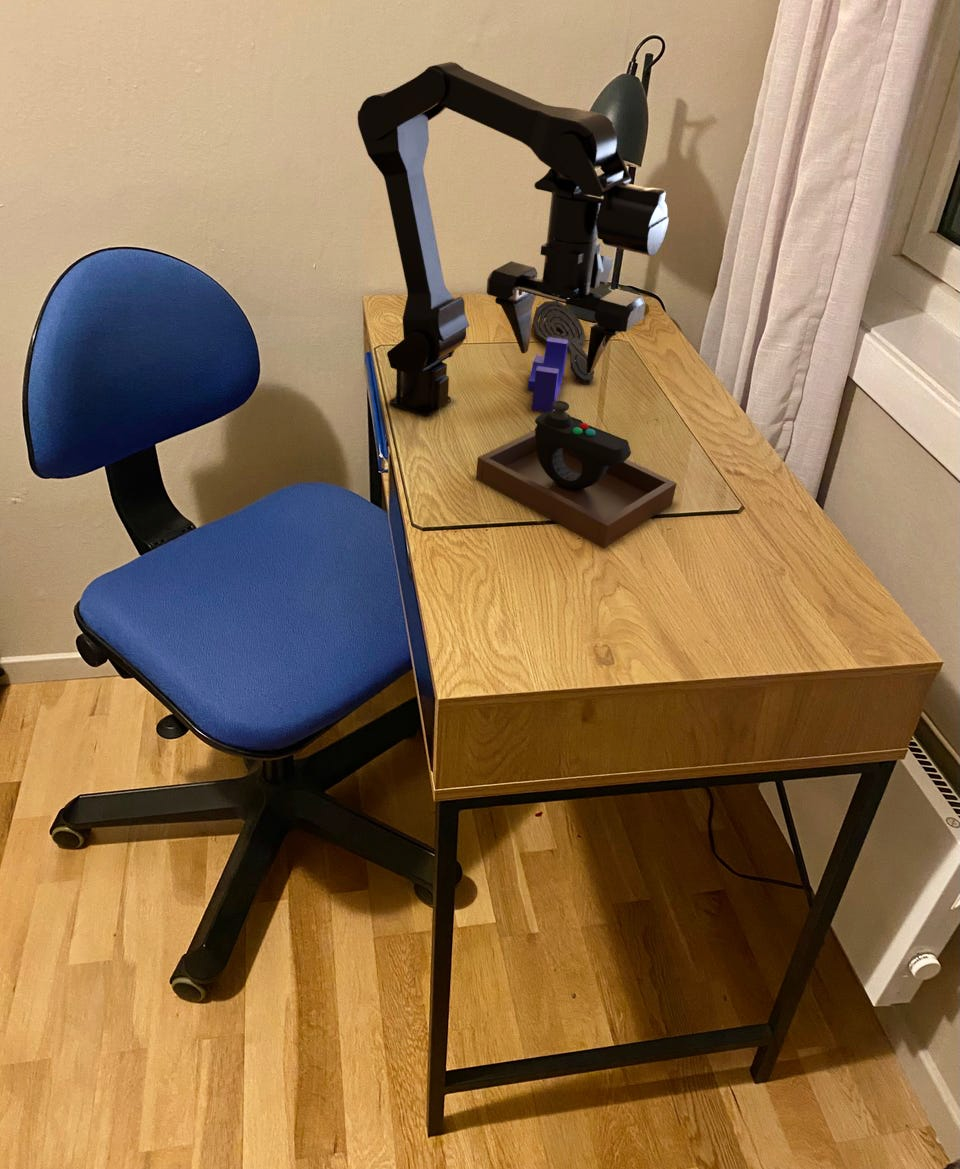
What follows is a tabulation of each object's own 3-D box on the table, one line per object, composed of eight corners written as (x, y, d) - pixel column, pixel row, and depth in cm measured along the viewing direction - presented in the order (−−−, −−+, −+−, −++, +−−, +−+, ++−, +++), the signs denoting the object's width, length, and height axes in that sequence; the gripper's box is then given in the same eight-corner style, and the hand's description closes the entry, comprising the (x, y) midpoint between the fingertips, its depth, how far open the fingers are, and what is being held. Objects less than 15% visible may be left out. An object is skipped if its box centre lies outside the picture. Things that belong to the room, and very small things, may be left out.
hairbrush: (561, 367, 140) (528, 295, 159) (558, 389, 142) (526, 316, 161) (616, 367, 141) (576, 296, 160) (612, 389, 144) (573, 316, 162)
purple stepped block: (533, 373, 144) (537, 335, 141) (563, 377, 144) (568, 340, 140) (521, 408, 135) (525, 368, 131) (552, 413, 134) (557, 373, 131)
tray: (475, 479, 119) (477, 457, 117) (547, 443, 127) (549, 422, 125) (603, 548, 109) (607, 526, 107) (672, 504, 117) (677, 482, 115)
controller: (542, 462, 122) (551, 391, 116) (626, 497, 117) (640, 424, 110) (523, 475, 119) (531, 402, 113) (609, 511, 114) (622, 437, 108)
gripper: (673, 236, 112) (650, 361, 121) (534, 203, 119) (522, 323, 128) (635, 261, 104) (614, 392, 114) (488, 224, 111) (480, 350, 121)
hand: (556, 362), depth 119 cm, fingers open, 9 cm apart
